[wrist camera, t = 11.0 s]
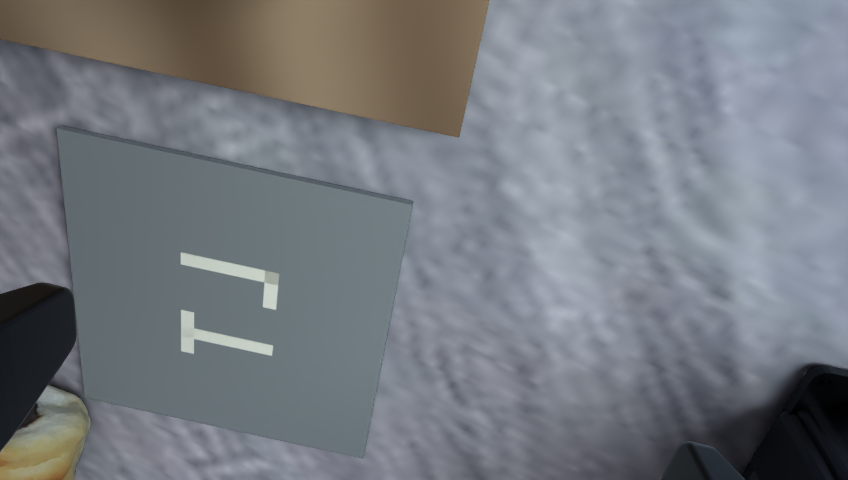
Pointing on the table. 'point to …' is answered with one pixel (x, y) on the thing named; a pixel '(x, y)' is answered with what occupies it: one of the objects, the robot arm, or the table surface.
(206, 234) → the mat
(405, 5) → the walnut board
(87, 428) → the pastry
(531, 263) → the table surface
